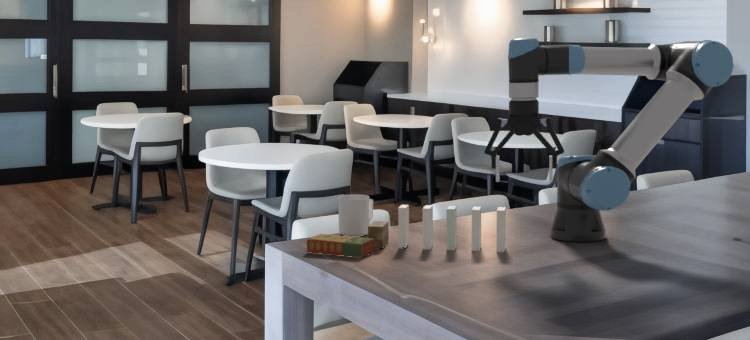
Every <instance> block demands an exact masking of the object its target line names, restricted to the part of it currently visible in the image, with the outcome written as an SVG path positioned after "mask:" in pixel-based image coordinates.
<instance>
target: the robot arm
mask: <svg viewBox="0 0 750 340" xmlns="http://www.w3.org/2000/svg"><path fill="white" fill-rule="evenodd" d="M507 60H508V98H509V99H510V100H509V101H508V118H507V119H506V118H501V117H499V118H497V119H496V123H495V128H494V130H493V132H492V135H491V137H490V139H489V141H488V143H487V145H486V146H485V149H484V154H485V155H488V156H490V157H491V158H490V159H491V160H490V161H491V169H492V170H493V169H494V170H495V182H496V183H499V182H500V181H501V180H500V179H501V178H500V171H501V169H500V167H501V166H500V155H497V154H499V152H500V151H501V150H502V149H503V147H504V146H505V145H506V144H507V143H508V142H509V141H510V139H511V138H512V137H513V136H514V135H516V136H520V137H521V136H528V137H529V136H532V135H534V136H535V137H536V138H537V140H538V141H540V143H541V144H542V145H543V147H545V149H546V150H547V151H548V152H549V153H550V154H551V155H549V156H548V157H549V158H548V159H549V160H548V162H549V164H548V166H549V168H548V170H549V171H548V173H549V174H548V175H549V176H548V177H549V179H548V180H549V181H548V182H549V183H553V169H556V172H557V173H556V174H557V175H556V176H557V177H556V178H557V180H556V182H557V184H556V189H557V190H556V211H555V213H554V216H553V219H552V222H551V225H550V230H549V235H550V238H553V239H556V240H559V241H564V242H565V241H566V242H576V243H577V242H578V243H585V242H586V243H589V242H598V241H603V240H604V239H605V238H606V228H605V224H604V222H603V218H602V214H601V212H600V211H613V210H615V209H617V208H619V207H621V206H622V205H623V204H624V203H625V202H626V201H627V200H628V199H629V195H630V194H631V184H632V183H633V182H634V180H636V178H637V176H636V169H637V168H638V167H639V165H640V164H641V163H643V161H644V160H645V158H646V157H647V156H648V155H649V153H650V152H651V151H652V150H653V149H654V148H655V146H656V145H657V144H658V143H659V141H661V139H662V138H663V137H664V135H666V134H667V132H668V131H669V130H670V129H671V128H672V126H673V125H674V124H675V123H676V121H677V120H678V119H679V118H680V117H681V116H682V115H683V114H684V112H685V111H686V109H688V107H689V106H690V104H692V102H693V101H699V100H700V101H701V100H703V99H704V98H705V97H706V95H707V94H708V93H709V92H710V90H711V89H712V88H714V87H715V88H716V87H719V86H721V85H723V84H725V83H726V82H727V81H728V80H729V79H730V78H731V76H732V74H733V71H734V58H733V54H732V53H731V51H730V49H729V48H728V46H726V44H724V43H722V42H719V41H714V40H710V39H705V40H702V41H701V40H699V41H697V40H695V41H690V40H688V41H679V42H673V43H666V44H650V45H649V46H648V47H647V48H646V47H607V46H606V47H604V46H603V47H602V46H601V47H600V46H581V45H579V44H560V45H559V44H557V45H540V43H539V40H538V38H535V37H533V38H513V39H511V40H510V41H509V43H508V55H507ZM560 75H561V76H562V75H568V76H571V75H587V76H588V75H592V76H593V75H594V76H595V75H596V76H597V75H598V76H603V75H604V76H637V77H639V76H640V77H642V76H644V77H646V78H647V80H656V81H657V80H659V81H665V82H664V83H663V85H662V86H661V87H660V88H659V89H658V90H657V91H656V93H655V94H653V96H652V98H651V99H650V100H649V101H648V102H647V103H646V104H645V106H644V107H643V108H642V109H641V110H640V112H639V113H638V114H637V115H636V116H635V117H634V119H633V120H632V121H631V122H630V123H629V125H628V126H627V127H626V128H625V129H624V130H623V132H622V133H621V134H620V135H619V136H618V138H617V139H616V140H615V141H614V142H613V144H611V146H610V147H609V148H607V149H605V148H604V149H600V150H599V151H598V152H597V153H596V155H565V156H560V155H562V154H563V155H564V153H565V150H564V147H563V145H562V143H561V141H560V139H559V138H558V135H557V133H556V131H555V129H554V128H553V126H552V118H551V117H550V116H548V117H546V118H540V116H539V110H540V109H539V107H540V106H539V100H538V99H537V98H539V82H540V81H539V77H540V76H560ZM541 124H542V125H543V127H545V128H546V129H547V131H548V133H549V135H550V138H551V139H552V140H553V143H554V145H555V146H556V149H555V148H554V147H553V146H552V145H551V143H550V142H549V141H548V140H547V138H545V136H544V135H542V132H540V131H539V129H538V128H539V126H540V125H541ZM505 125H507V126H508V127H509V129H510V130H509V131H508V132H507V134H506V135H505V136H504V138H503V139H502V140H501V141H500V142H499V144H497V146H496V147H495V148H494V149H493V150H492V148H493V145H494V143H495V141H496V139H497V138H498V135H499V133H500V132H501V129H502V128H504V127H505ZM558 156H560V157H559V158H558Z"/></svg>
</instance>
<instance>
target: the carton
mask: <svg viewBox="0 0 750 340" xmlns="http://www.w3.org/2000/svg"><path fill="white" fill-rule="evenodd" d="M375 250H376V249H375V241H374V239H373V238H368V237H350V236H342V235H337V234H328V233H327V234H326V233H320V234H317V235H314V236H311V237H309V238H307V239H306V253H307V252H312V253H322V254H332V255H344V256H352V257H359V258H358V259H360V258H361V259H364V258H366V257H368V256H369V255H368V254H370V253H372V252H374V253H375ZM372 254H373V253H372ZM367 255H368V256H367ZM370 255H371V254H370ZM365 256H366V257H365ZM363 257H364V258H363Z"/></svg>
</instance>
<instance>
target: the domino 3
mask: <svg viewBox="0 0 750 340" xmlns="http://www.w3.org/2000/svg"><path fill="white" fill-rule="evenodd" d="M455 249H457V205H448V206H447V208H446V251H455Z"/></svg>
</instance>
